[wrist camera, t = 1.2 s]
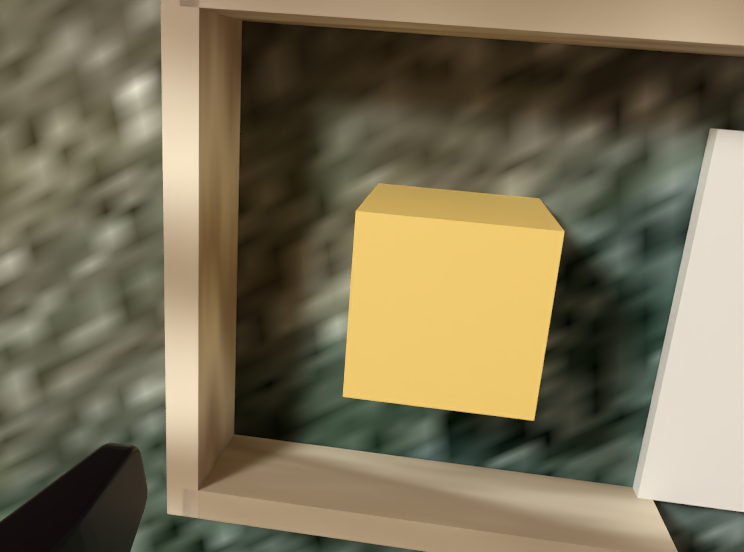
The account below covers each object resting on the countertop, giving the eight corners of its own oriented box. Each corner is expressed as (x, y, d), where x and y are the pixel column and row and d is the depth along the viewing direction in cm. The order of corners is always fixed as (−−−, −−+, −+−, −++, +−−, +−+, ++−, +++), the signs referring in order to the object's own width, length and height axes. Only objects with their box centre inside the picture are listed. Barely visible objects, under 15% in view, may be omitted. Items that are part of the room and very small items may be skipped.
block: (516, 348, 22) (533, 420, 17) (366, 330, 22) (342, 396, 18) (539, 198, 20) (564, 231, 16) (378, 182, 21) (356, 211, 16)
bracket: (642, 514, 23) (674, 587, 19) (207, 455, 24) (167, 513, 21) (752, 18, 18) (818, 3, 15) (210, -17, 20) (160, -39, 16)
